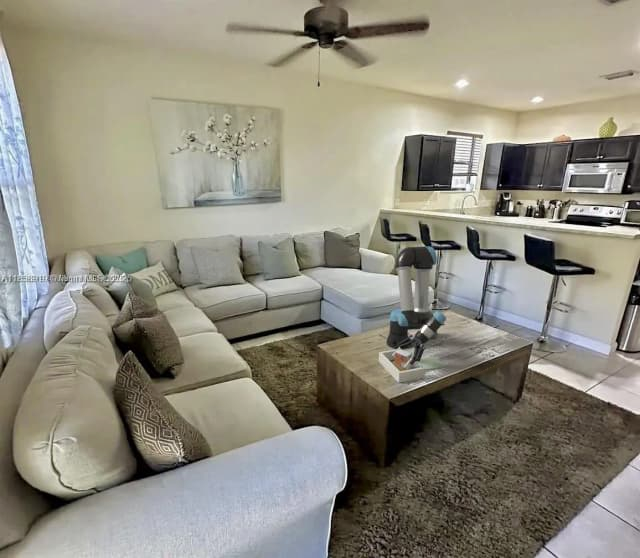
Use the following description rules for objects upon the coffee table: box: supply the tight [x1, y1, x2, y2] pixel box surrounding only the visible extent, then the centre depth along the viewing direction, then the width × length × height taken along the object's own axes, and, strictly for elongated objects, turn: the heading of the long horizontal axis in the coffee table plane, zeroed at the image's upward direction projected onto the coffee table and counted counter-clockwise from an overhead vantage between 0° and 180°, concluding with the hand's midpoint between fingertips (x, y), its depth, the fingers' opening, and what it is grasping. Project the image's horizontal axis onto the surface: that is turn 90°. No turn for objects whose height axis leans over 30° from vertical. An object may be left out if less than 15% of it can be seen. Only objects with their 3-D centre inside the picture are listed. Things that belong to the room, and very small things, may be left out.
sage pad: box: [415, 355, 447, 372], centre depth 209 cm, size 12×14×1 cm
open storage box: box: [378, 349, 426, 384], centre depth 203 cm, size 24×16×6 cm, turn 17°
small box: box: [393, 349, 413, 371], centre depth 203 cm, size 8×6×10 cm
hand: (399, 362), depth 203 cm, fingers open, 13 cm apart
